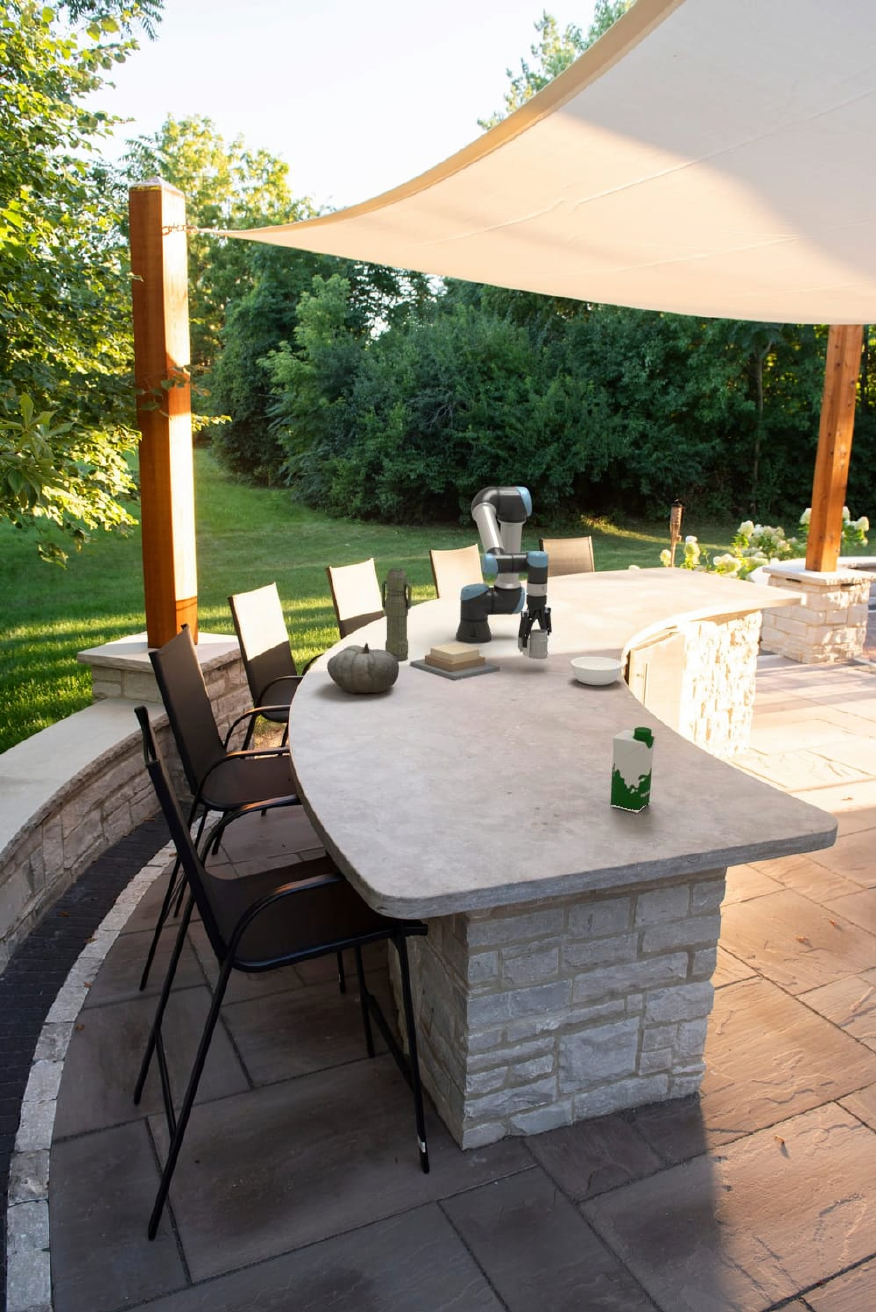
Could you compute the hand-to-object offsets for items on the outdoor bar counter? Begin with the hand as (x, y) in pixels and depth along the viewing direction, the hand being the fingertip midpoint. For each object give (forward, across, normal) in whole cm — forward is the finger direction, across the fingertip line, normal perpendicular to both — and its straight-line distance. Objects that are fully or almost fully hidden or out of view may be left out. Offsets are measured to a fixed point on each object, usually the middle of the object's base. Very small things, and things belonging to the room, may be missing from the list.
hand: (534, 653), depth 350 cm
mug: (+1, -1, 0) cm, 1 cm away
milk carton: (+4, -71, -104) cm, 127 cm away
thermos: (+7, -31, +43) cm, 54 cm away
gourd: (+6, -65, +17) cm, 68 cm away
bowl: (+6, +5, -26) cm, 27 cm away
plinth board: (+6, -22, +20) cm, 30 cm away
